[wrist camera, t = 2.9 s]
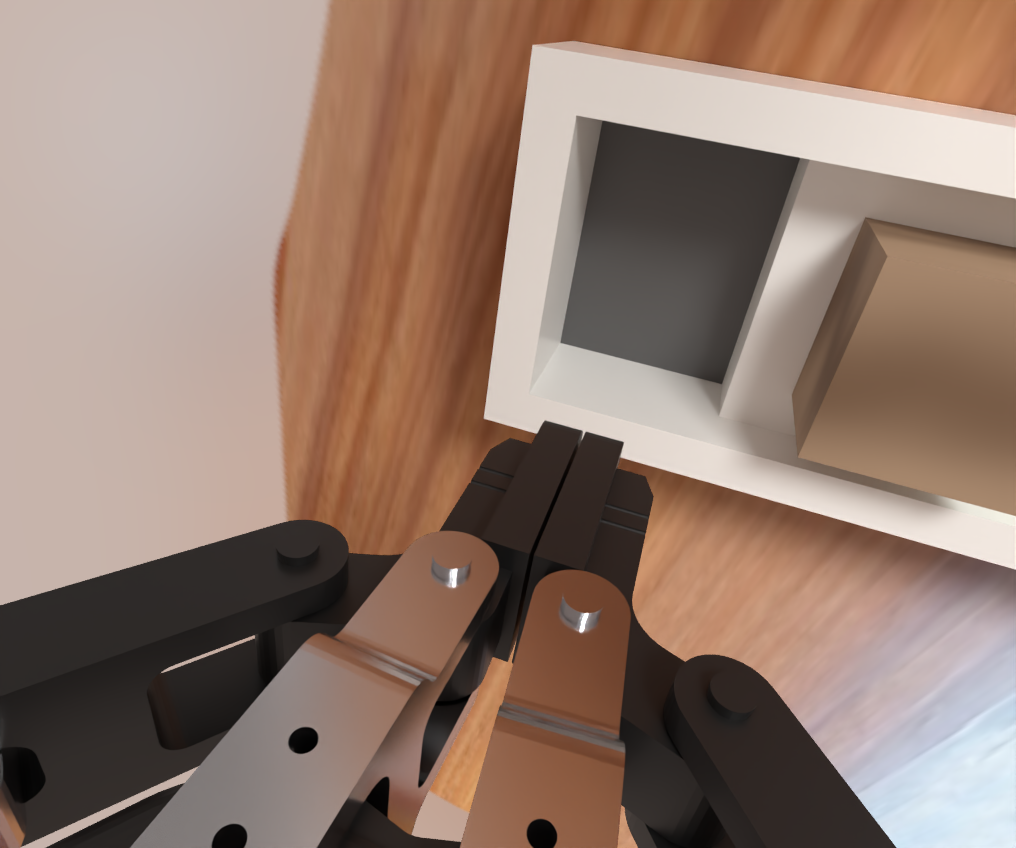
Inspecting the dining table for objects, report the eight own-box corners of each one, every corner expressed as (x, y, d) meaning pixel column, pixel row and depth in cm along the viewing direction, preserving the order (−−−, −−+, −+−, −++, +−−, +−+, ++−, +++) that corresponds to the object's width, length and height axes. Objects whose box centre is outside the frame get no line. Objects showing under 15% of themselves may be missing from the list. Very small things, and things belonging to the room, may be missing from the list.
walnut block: (865, 217, 20) (887, 256, 16) (1094, 263, 18) (1168, 315, 15) (791, 394, 23) (797, 457, 20) (983, 443, 22) (1024, 518, 18)
